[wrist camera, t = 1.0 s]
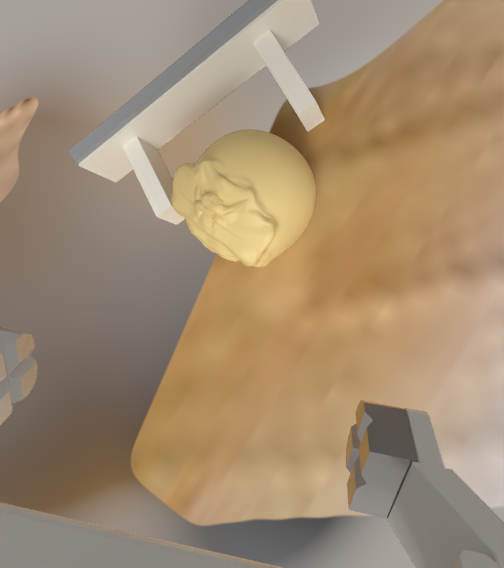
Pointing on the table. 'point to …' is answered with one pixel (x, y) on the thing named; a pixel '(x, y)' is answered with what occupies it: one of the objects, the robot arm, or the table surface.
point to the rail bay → (200, 95)
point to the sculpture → (246, 196)
